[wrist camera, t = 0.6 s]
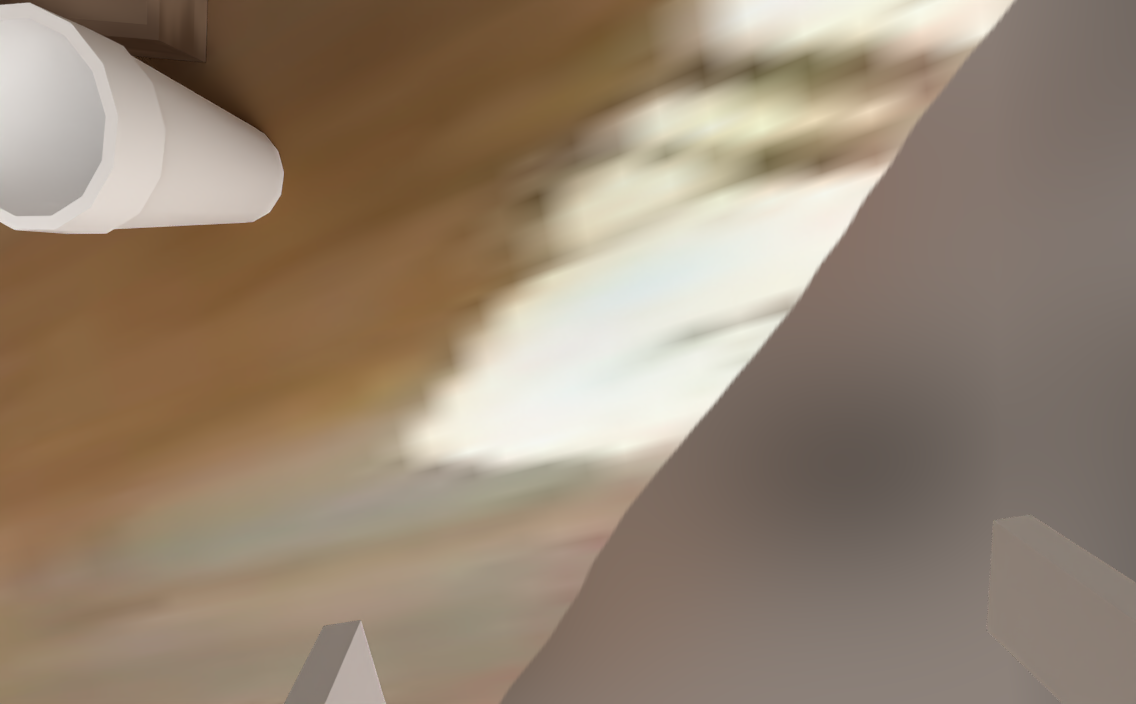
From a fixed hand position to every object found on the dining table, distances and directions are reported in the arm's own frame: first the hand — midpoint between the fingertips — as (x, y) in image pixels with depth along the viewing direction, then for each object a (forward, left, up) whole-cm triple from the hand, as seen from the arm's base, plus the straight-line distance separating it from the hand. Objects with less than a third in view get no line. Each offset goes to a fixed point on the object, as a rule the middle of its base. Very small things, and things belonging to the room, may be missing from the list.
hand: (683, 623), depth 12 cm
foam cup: (-10, -29, -24) cm, 39 cm away
